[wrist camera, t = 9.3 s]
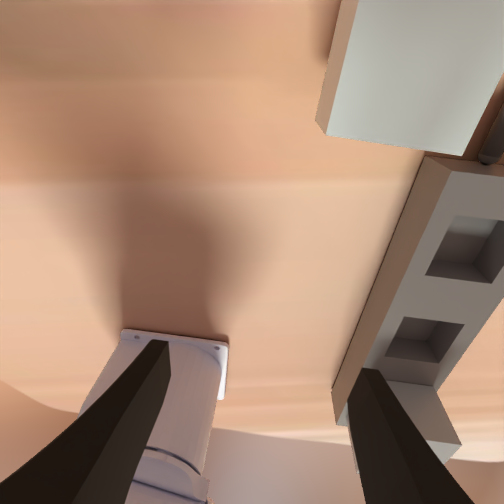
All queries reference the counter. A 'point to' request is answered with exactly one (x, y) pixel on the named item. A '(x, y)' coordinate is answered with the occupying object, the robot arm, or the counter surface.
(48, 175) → the counter surface
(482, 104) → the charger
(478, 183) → the power strip
